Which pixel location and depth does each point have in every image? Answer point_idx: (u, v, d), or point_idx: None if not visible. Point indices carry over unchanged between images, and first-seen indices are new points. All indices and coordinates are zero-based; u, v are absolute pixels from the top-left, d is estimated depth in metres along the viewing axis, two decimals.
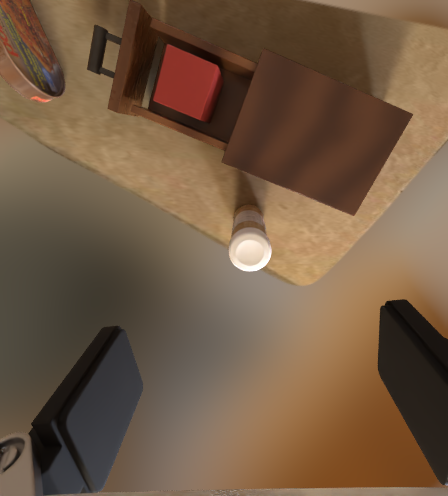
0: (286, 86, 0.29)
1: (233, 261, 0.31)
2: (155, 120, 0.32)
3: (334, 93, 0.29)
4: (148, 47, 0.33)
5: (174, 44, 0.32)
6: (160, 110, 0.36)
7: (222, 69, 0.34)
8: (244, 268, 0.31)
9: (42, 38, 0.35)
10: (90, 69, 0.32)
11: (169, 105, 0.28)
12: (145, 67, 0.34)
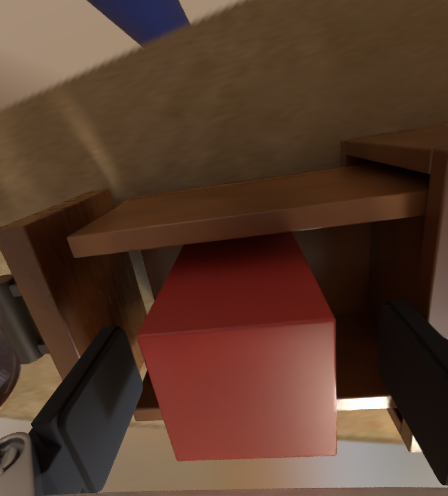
0: None
1: None
2: None
3: None
4: None
5: None
6: None
7: None
8: None
9: None
10: (22, 362, 0.14)
11: (227, 457, 0.09)
12: (121, 277, 0.16)
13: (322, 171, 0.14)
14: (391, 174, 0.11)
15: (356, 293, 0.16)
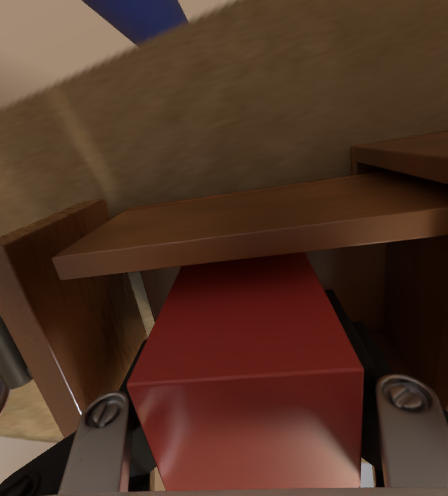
0: None
1: None
2: None
3: None
4: None
5: None
6: None
7: None
8: None
9: None
10: (9, 387, 0.13)
11: None
12: (117, 293, 0.15)
13: (334, 179, 0.13)
14: (414, 184, 0.10)
15: (370, 310, 0.15)
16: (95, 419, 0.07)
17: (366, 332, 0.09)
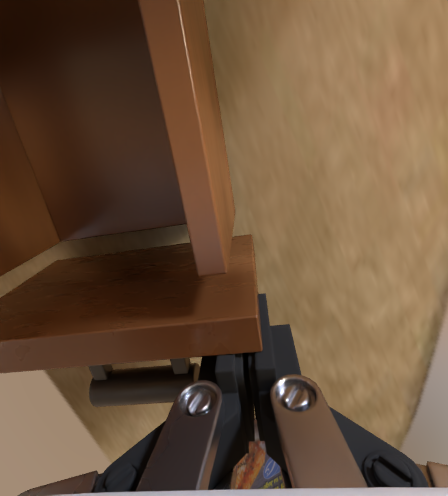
0: None
1: None
2: (199, 157, 0.06)
3: None
4: (79, 273, 0.13)
5: (15, 217, 0.11)
6: None
7: None
8: None
9: None
10: None
11: None
12: (128, 262, 0.13)
13: None
14: None
15: None
16: (190, 408, 0.07)
17: (289, 335, 0.10)
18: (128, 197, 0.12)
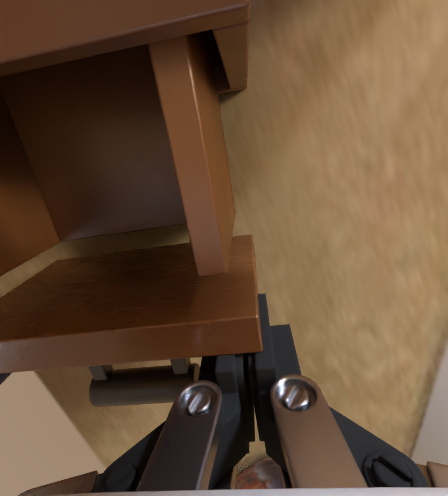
0: None
1: None
2: (199, 157, 0.06)
3: None
4: (79, 273, 0.13)
5: (15, 217, 0.11)
6: None
7: None
8: None
9: None
10: None
11: None
12: (128, 262, 0.13)
13: None
14: None
15: None
16: (190, 408, 0.07)
17: (289, 335, 0.10)
18: (128, 197, 0.12)
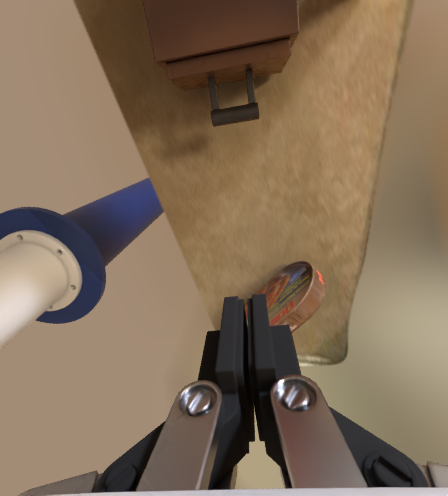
0: (172, 3, 0.21)
1: None
2: None
3: None
4: None
5: None
6: None
7: None
8: None
9: (265, 290, 0.39)
10: (257, 111, 0.26)
11: None
12: None
13: None
14: None
15: None
16: (190, 408, 0.07)
17: (289, 335, 0.10)
18: None
